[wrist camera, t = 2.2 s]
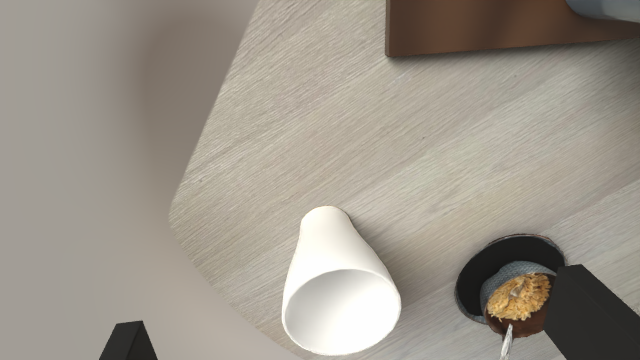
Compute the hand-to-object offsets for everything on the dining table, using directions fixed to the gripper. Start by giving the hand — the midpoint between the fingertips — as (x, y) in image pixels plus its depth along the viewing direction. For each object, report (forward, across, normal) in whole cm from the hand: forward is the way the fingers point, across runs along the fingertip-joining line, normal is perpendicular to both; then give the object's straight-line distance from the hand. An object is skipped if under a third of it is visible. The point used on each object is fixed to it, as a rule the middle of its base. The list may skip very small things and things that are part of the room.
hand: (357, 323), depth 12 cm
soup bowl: (+29, +24, -27) cm, 47 cm away
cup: (+29, +1, -15) cm, 33 cm away
